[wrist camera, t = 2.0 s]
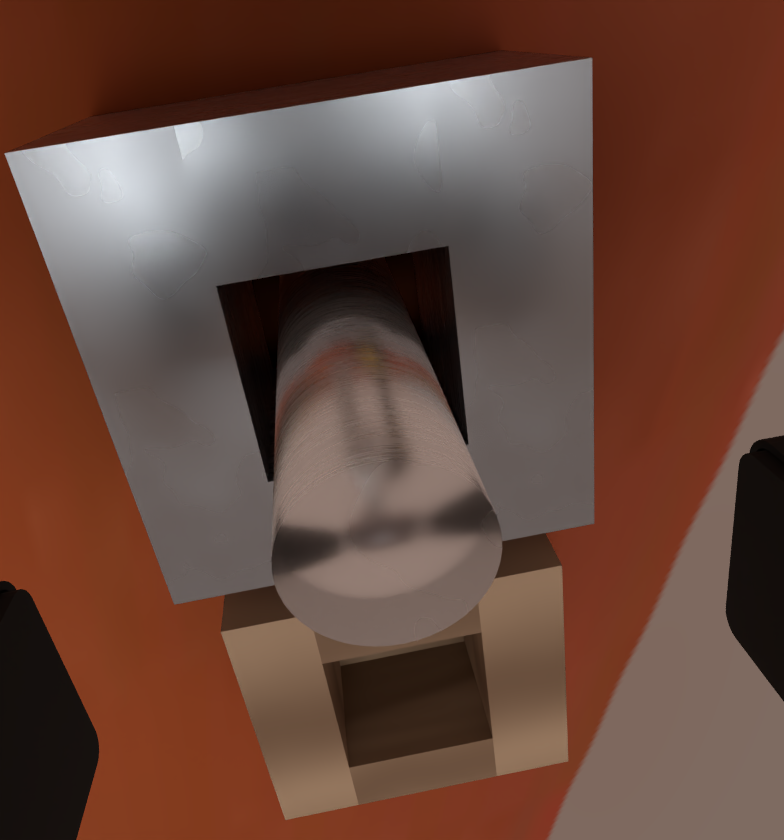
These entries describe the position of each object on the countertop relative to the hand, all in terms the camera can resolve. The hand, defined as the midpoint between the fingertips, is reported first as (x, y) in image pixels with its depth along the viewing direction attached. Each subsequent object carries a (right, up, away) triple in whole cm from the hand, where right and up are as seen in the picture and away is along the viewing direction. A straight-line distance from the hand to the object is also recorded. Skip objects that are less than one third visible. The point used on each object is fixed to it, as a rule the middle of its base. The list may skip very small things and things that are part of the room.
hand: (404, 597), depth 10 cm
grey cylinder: (-2, +6, +10) cm, 12 cm away
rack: (0, -3, +15) cm, 16 cm away
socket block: (-2, +6, +10) cm, 12 cm away
